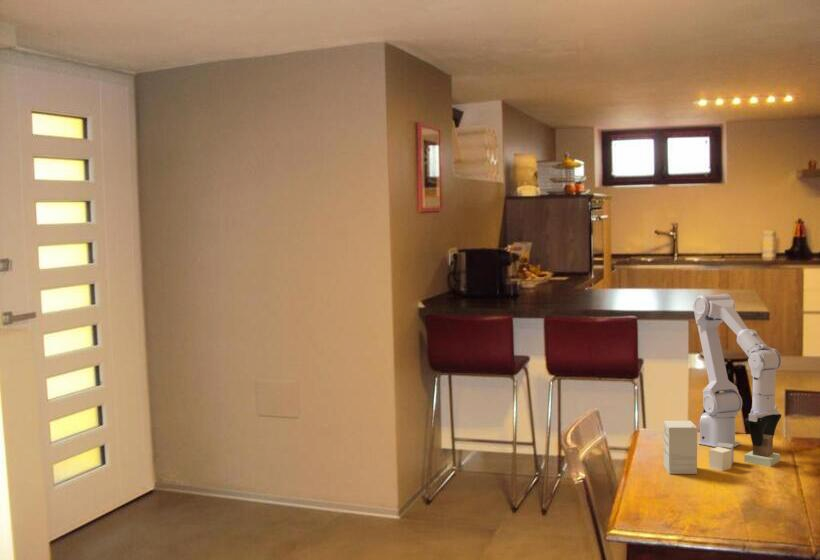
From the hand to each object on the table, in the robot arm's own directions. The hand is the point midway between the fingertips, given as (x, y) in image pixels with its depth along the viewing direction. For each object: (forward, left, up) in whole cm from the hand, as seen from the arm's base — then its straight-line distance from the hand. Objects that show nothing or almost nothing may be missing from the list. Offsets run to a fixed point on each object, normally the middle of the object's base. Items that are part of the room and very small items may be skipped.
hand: (762, 442), depth 235 cm
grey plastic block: (-7, -8, -5) cm, 12 cm away
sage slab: (0, 0, -6) cm, 6 cm away
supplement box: (-13, -22, -5) cm, 26 cm away
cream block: (-6, -13, -5) cm, 15 cm away
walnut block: (0, 0, -3) cm, 3 cm away
